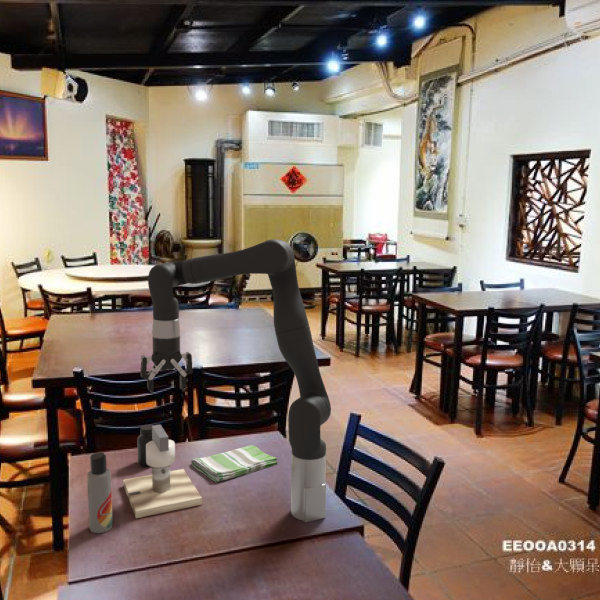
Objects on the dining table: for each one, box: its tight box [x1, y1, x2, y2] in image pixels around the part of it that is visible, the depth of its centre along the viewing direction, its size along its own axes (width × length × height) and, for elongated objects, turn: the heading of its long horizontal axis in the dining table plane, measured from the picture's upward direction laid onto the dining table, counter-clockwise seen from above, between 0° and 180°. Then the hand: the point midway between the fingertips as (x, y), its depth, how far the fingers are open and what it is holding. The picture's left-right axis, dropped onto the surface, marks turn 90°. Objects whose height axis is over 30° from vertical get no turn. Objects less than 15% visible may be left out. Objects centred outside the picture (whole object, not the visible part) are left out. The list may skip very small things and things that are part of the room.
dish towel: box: [190, 444, 278, 483], centre depth 191 cm, size 17×23×4 cm
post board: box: [122, 465, 203, 519], centre depth 169 cm, size 20×18×10 cm
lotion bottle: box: [86, 451, 113, 534], centre depth 151 cm, size 6×6×20 cm
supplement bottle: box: [136, 424, 153, 468], centre depth 190 cm, size 7×7×12 cm
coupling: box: [146, 424, 176, 468], centre depth 167 cm, size 10×8×9 cm
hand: (167, 390), depth 168 cm, fingers open, 8 cm apart
